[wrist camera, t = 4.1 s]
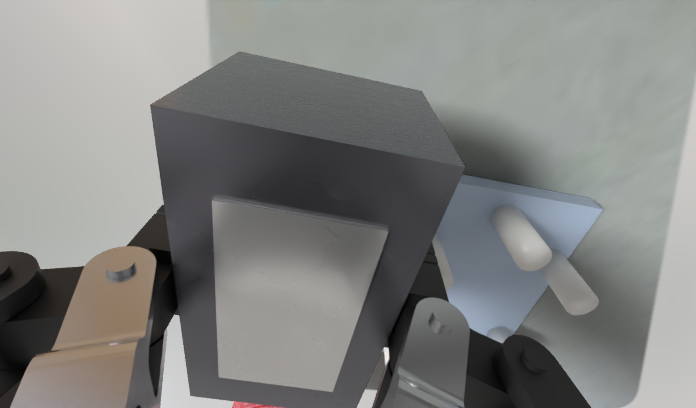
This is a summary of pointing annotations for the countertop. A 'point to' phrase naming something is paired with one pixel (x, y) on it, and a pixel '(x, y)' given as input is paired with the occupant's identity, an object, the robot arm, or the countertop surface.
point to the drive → (296, 224)
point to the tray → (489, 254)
